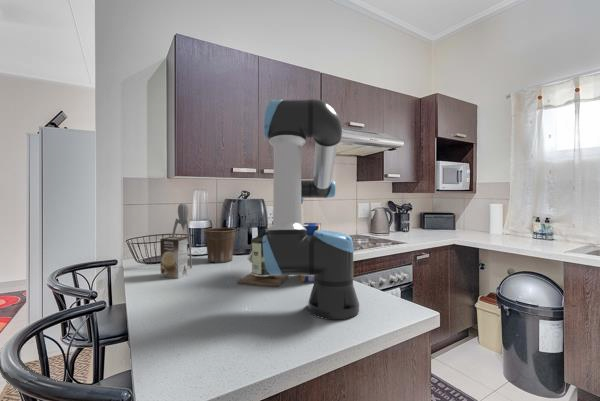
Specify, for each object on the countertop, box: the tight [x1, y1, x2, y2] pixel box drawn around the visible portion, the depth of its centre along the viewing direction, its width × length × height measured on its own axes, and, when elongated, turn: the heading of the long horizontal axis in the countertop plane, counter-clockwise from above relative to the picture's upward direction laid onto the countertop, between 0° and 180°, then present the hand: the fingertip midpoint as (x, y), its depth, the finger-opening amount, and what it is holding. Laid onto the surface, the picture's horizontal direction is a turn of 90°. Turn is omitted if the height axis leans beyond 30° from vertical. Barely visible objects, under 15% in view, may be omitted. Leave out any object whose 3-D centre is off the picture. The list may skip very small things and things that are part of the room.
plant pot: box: [203, 227, 237, 264], centre depth 153 cm, size 16×16×16 cm
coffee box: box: [159, 236, 188, 279], centre depth 125 cm, size 9×6×16 cm
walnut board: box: [237, 271, 290, 288], centre depth 120 cm, size 16×16×1 cm
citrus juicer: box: [171, 202, 193, 269], centre depth 141 cm, size 11×10×30 cm
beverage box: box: [300, 222, 322, 283], centre depth 121 cm, size 7×11×22 cm, turn 171°
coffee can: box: [251, 236, 273, 277], centre depth 120 cm, size 10×10×14 cm
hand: (259, 262), depth 117 cm, fingers closed on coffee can, 10 cm apart
